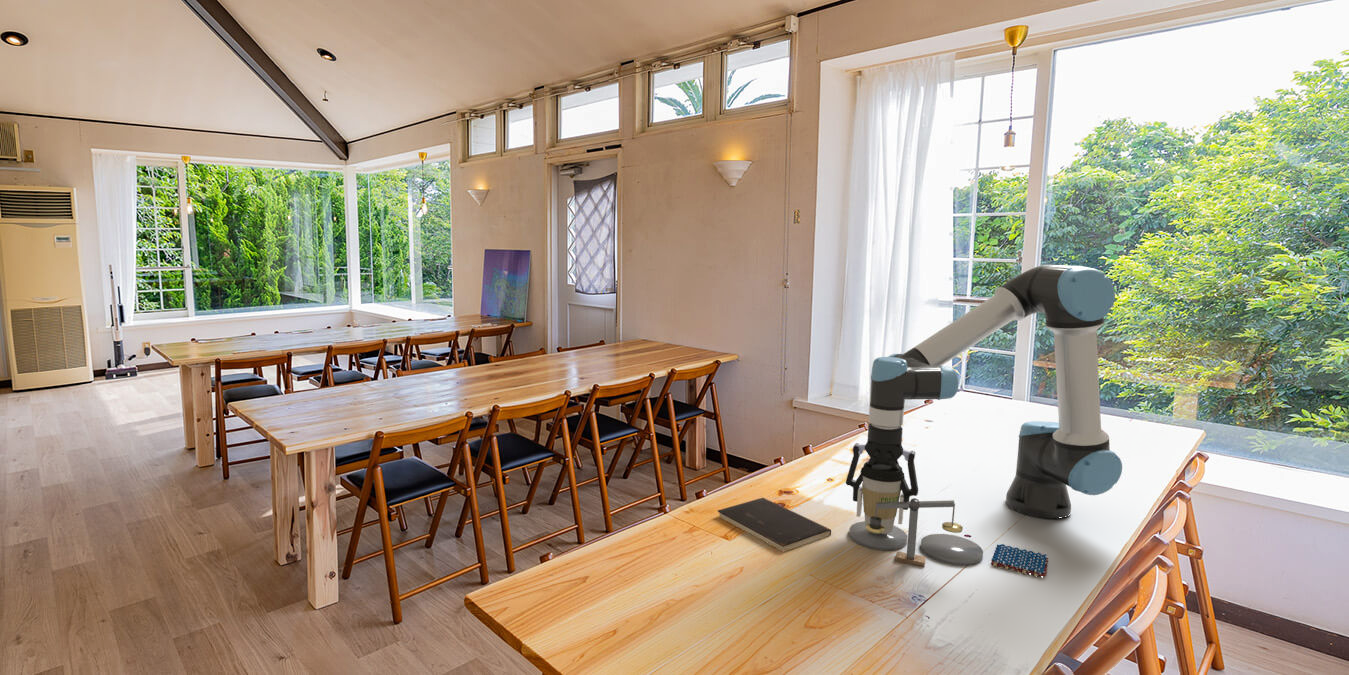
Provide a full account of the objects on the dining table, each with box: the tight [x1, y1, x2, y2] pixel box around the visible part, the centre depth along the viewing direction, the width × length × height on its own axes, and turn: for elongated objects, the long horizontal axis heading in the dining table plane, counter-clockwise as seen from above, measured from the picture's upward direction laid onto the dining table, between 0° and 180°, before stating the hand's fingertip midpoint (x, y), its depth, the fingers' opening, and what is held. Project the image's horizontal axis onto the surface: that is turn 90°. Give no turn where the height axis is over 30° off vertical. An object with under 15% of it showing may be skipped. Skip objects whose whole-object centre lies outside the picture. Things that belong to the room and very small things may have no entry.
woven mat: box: [990, 543, 1049, 577], centre depth 147 cm, size 10×11×2 cm
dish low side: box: [849, 520, 908, 551], centre depth 158 cm, size 13×13×1 cm
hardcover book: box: [717, 497, 832, 552], centre depth 163 cm, size 16×23×2 cm
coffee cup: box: [860, 461, 906, 534], centre depth 157 cm, size 10×10×15 cm
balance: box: [866, 497, 964, 568], centre depth 146 cm, size 20×4×15 cm, turn 66°
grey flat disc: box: [920, 533, 984, 566], centre depth 152 cm, size 13×13×1 cm
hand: (879, 518), depth 157 cm, fingers closed on coffee cup, 9 cm apart
